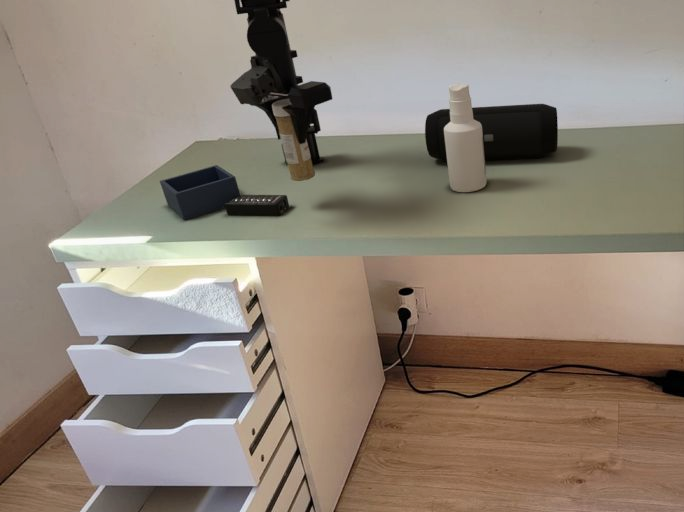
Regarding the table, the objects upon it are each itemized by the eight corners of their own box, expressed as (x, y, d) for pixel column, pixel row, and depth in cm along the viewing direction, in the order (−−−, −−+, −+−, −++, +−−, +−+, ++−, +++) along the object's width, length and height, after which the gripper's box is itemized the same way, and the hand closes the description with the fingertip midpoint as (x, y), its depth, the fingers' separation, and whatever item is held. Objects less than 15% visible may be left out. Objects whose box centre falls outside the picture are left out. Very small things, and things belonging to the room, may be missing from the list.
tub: (224, 189, 144) (216, 164, 141) (242, 202, 136) (235, 176, 133) (168, 205, 139) (159, 180, 136) (184, 220, 131) (175, 194, 128)
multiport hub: (238, 205, 135) (235, 194, 133) (290, 206, 132) (287, 194, 130) (226, 215, 131) (222, 203, 130) (279, 216, 128) (276, 203, 127)
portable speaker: (428, 168, 142) (421, 118, 137) (437, 152, 150) (431, 104, 145) (555, 163, 137) (554, 110, 132) (558, 146, 146) (557, 96, 140)
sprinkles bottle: (319, 176, 127) (302, 100, 120) (296, 184, 125) (277, 107, 118) (309, 170, 131) (291, 96, 123) (286, 177, 129) (267, 102, 121)
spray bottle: (491, 180, 133) (483, 80, 123) (480, 193, 128) (471, 90, 118) (457, 179, 135) (446, 81, 126) (445, 192, 130) (433, 91, 120)
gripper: (197, 55, 116) (224, 149, 124) (269, 61, 105) (293, 163, 114) (251, 40, 123) (273, 131, 131) (324, 45, 112) (343, 142, 121)
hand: (293, 141), depth 124 cm, fingers closed on sprinkles bottle, 4 cm apart
